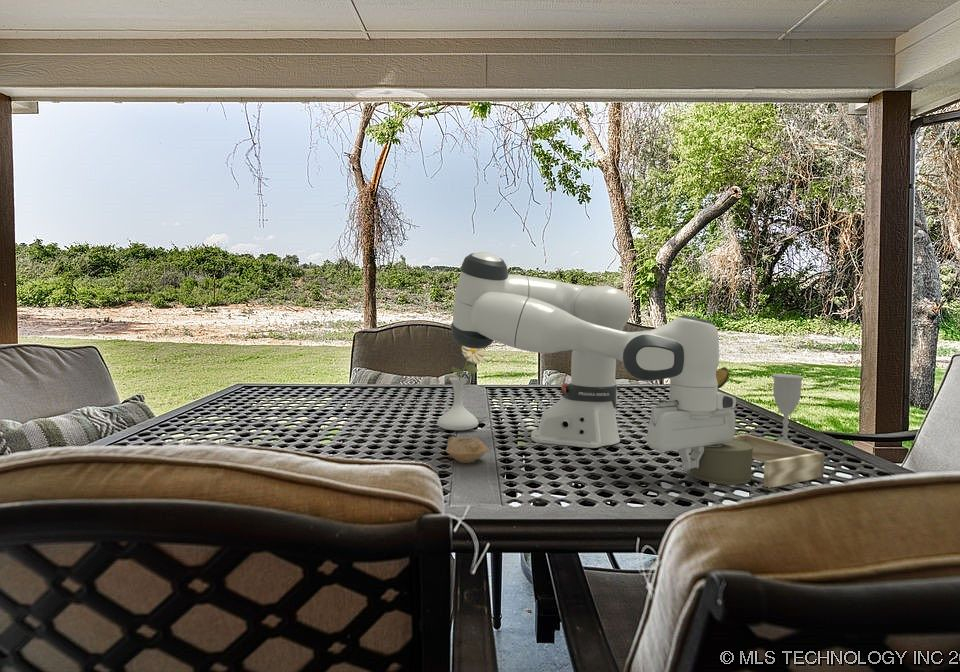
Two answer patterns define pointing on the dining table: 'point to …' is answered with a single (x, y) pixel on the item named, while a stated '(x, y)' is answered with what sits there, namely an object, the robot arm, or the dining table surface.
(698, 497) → the dining table surface
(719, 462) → the can
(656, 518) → the dining table surface
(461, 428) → the flower in vase
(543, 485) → the dining table surface
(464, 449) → the pottery oil lamp
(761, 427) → the dining table surface
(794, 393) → the chalice
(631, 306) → the robot arm
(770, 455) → the box
